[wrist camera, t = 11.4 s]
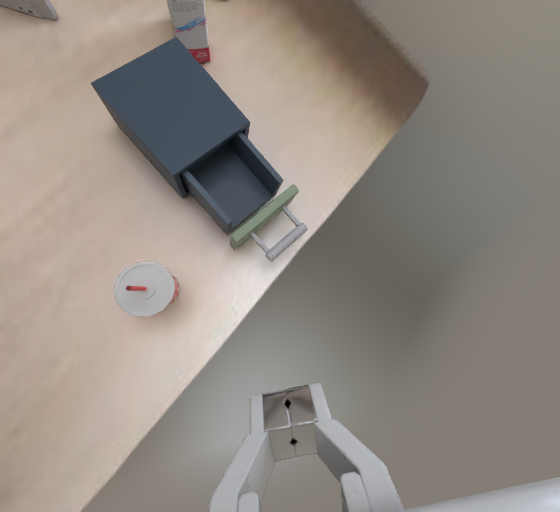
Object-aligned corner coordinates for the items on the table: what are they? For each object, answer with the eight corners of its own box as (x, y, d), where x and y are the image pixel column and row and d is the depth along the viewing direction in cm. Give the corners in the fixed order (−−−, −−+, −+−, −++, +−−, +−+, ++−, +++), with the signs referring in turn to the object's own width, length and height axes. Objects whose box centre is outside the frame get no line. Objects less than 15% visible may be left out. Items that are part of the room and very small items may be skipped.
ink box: (210, 64, 43) (205, -18, 32) (179, 64, 42) (162, -20, 31) (200, 17, 44) (192, -79, 33) (169, 16, 43) (149, -83, 32)
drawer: (308, 227, 42) (322, 217, 36) (256, 274, 39) (262, 271, 33) (232, 140, 42) (234, 114, 35) (174, 181, 39) (164, 161, 33)
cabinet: (245, 153, 43) (250, 122, 35) (182, 198, 40) (172, 176, 32) (185, 83, 42) (176, 36, 34) (117, 124, 39) (90, 82, 31)
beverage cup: (130, 287, 36) (74, 285, 23) (166, 259, 38) (135, 241, 24) (159, 320, 37) (121, 337, 23) (194, 291, 38) (178, 291, 25)
